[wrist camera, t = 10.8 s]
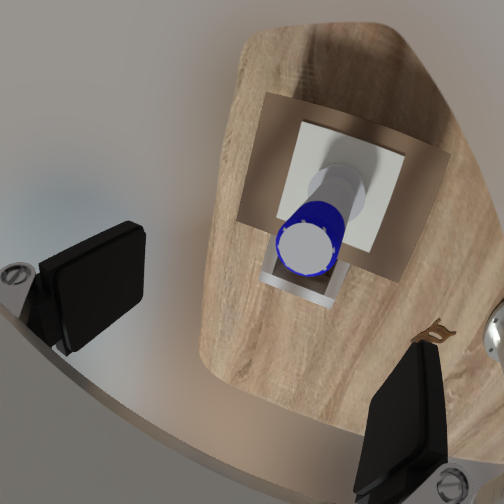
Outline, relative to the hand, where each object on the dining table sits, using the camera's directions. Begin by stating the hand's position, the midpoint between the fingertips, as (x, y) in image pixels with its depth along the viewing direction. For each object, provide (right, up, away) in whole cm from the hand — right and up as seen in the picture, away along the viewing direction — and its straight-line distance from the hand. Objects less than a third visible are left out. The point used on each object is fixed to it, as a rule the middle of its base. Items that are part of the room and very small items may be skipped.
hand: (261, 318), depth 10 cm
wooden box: (+10, +8, +29) cm, 31 cm away
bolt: (+8, +8, +19) cm, 22 cm away
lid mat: (+8, +8, +19) cm, 22 cm away
